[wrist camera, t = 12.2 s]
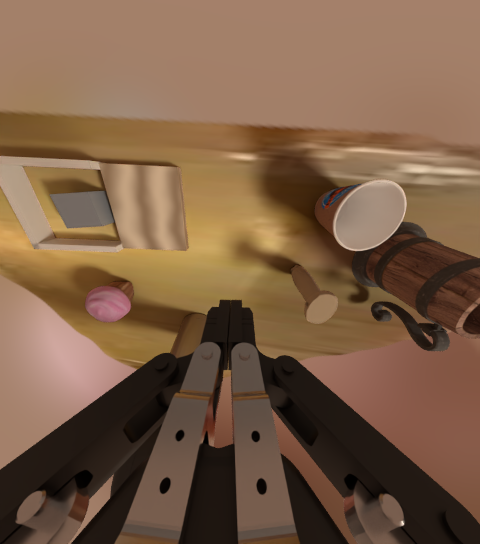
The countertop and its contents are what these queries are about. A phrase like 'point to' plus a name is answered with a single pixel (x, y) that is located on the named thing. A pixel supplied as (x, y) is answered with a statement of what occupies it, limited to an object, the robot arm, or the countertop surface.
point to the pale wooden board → (147, 205)
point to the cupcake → (110, 301)
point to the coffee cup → (362, 213)
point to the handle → (314, 297)
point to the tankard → (424, 285)
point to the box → (30, 211)
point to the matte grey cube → (84, 209)
